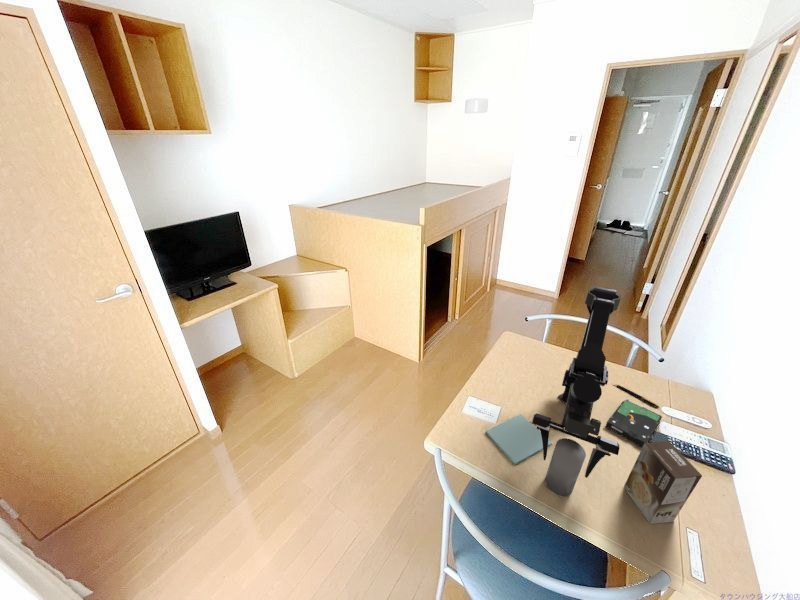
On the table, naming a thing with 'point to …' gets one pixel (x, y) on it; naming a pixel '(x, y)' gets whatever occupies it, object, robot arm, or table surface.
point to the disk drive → (633, 422)
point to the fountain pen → (638, 396)
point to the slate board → (517, 438)
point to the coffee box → (661, 481)
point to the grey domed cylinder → (564, 467)
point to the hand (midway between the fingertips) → (564, 468)
